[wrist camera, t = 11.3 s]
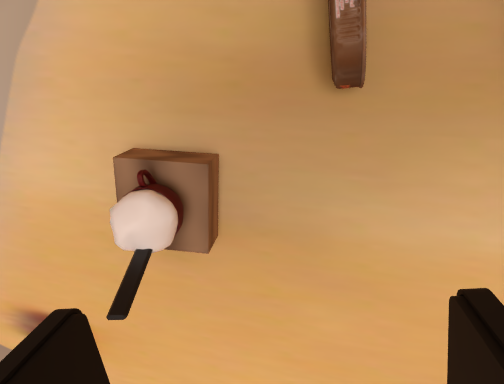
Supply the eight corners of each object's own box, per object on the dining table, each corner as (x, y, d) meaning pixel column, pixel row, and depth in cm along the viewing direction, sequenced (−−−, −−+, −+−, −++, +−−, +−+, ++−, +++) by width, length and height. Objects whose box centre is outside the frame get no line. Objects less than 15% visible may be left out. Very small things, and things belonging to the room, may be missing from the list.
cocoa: (142, 160, 36) (66, 189, 24) (200, 178, 35) (150, 216, 24) (127, 241, 39) (52, 301, 27) (180, 258, 38) (127, 328, 27)
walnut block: (219, 153, 39) (208, 164, 35) (218, 233, 43) (208, 253, 38) (134, 147, 40) (112, 157, 36) (140, 226, 44) (121, 244, 39)
